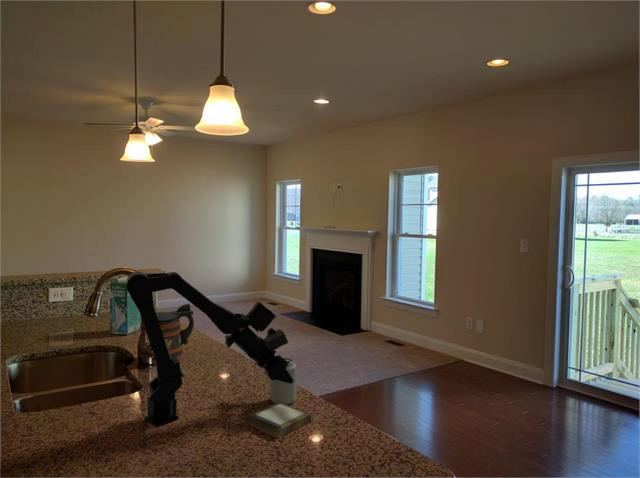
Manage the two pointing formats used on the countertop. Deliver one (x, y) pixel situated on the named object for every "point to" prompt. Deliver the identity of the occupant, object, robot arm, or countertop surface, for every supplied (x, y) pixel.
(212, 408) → the countertop surface
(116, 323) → the milk carton
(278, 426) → the grey flat square slab
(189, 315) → the beer stein
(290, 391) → the can
